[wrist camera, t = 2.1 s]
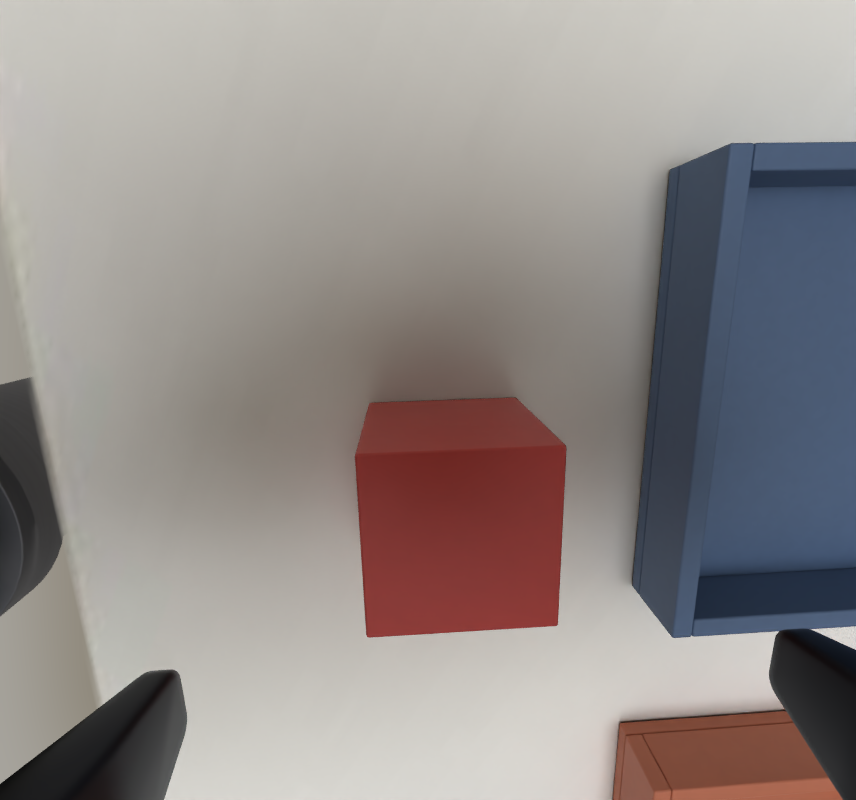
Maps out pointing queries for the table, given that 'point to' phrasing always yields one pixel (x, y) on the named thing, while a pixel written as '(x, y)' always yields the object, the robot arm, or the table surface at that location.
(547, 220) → the table surface
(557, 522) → the red block
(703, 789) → the terracotta tray
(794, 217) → the slate tray
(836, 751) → the robot arm
